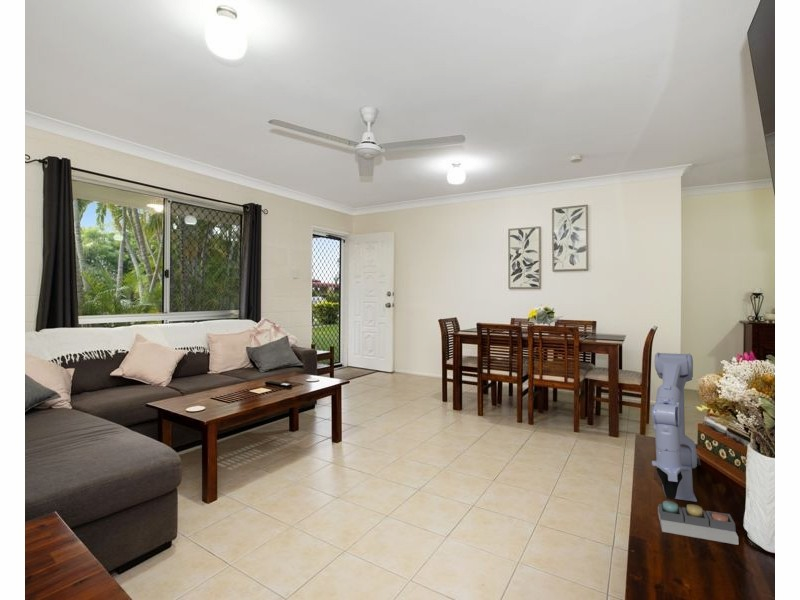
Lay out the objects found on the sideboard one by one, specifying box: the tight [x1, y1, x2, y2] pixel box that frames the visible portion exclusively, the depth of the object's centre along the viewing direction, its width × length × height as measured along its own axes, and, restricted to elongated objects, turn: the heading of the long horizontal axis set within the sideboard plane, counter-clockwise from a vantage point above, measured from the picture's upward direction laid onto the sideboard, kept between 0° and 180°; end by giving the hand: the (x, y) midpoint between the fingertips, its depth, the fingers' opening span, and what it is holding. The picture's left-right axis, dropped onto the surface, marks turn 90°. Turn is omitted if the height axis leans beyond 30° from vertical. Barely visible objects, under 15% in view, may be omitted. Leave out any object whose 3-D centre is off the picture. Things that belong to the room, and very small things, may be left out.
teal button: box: [662, 500, 679, 514], centre depth 114 cm, size 3×3×2 cm
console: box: [657, 503, 739, 545], centre depth 111 cm, size 10×16×4 cm, turn 64°
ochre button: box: [686, 503, 703, 518], centre depth 111 cm, size 3×3×2 cm
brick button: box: [712, 511, 728, 522], centre depth 109 cm, size 3×3×2 cm
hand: (670, 497), depth 114 cm, fingers closed
